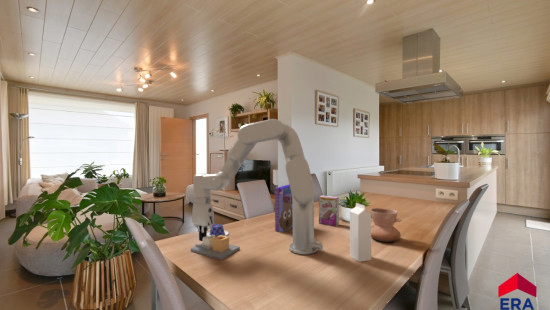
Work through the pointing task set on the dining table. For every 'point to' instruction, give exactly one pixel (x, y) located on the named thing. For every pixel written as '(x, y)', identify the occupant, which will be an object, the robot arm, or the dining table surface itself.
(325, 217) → the candy bar box
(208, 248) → the base
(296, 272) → the dining table surface
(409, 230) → the dining table surface
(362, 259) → the milk
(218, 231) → the pudding
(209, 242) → the cream square block
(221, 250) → the orange hollow cube
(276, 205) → the cereal box
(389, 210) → the ceramic jug
